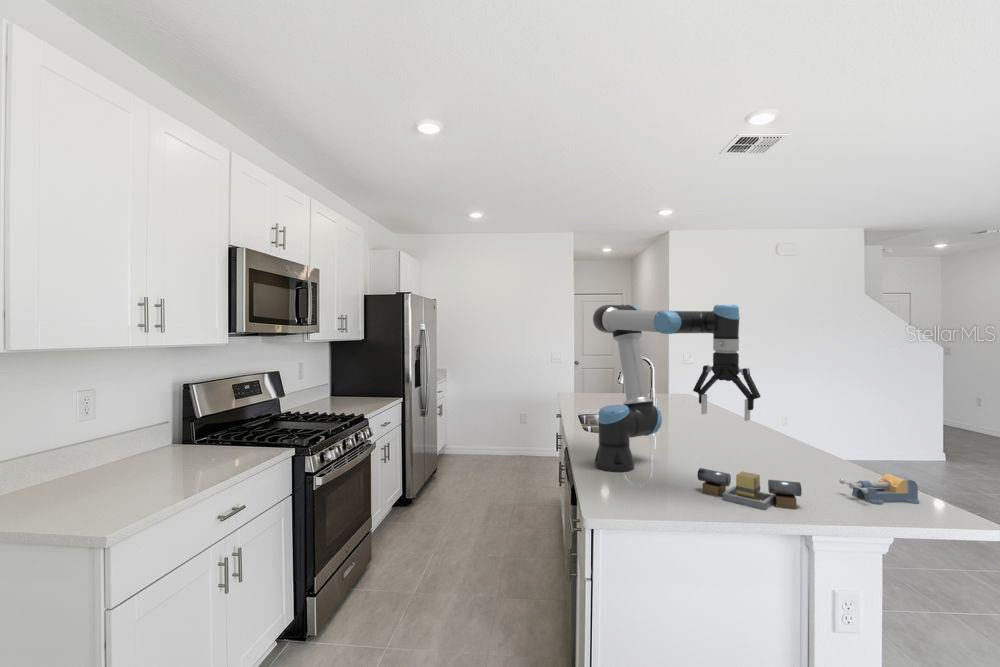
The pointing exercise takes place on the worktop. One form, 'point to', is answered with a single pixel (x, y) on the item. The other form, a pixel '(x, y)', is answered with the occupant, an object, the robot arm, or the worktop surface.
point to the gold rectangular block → (748, 485)
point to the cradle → (767, 498)
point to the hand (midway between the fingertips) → (725, 416)
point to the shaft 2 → (784, 493)
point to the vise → (886, 490)
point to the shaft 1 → (713, 481)
